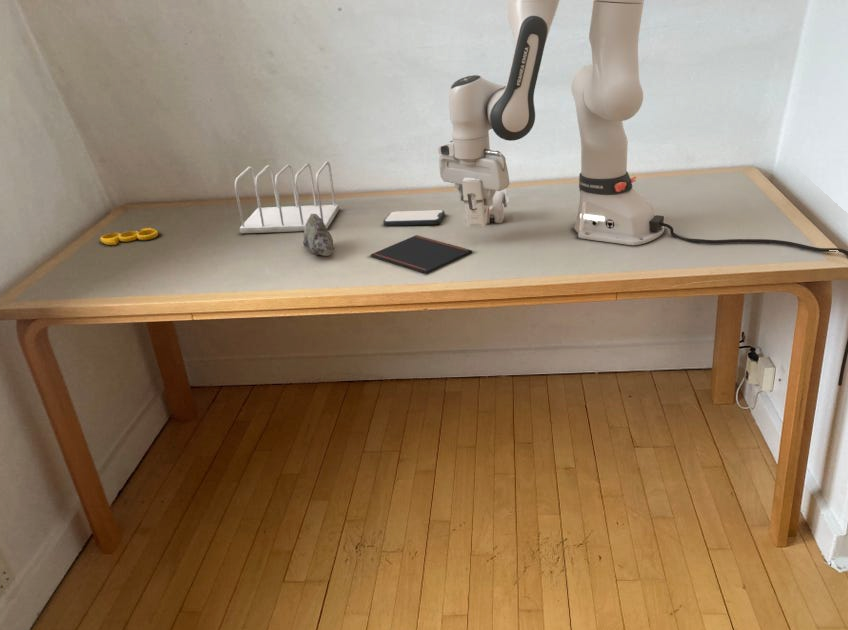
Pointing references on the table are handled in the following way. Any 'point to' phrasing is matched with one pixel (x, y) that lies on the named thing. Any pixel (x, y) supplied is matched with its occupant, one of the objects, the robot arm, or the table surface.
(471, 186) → the ink box
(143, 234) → the yellow linked rings
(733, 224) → the table surface
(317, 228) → the mineral rock
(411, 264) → the mat
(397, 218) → the smartphone
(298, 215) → the file sorter
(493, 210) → the elephant figurine
